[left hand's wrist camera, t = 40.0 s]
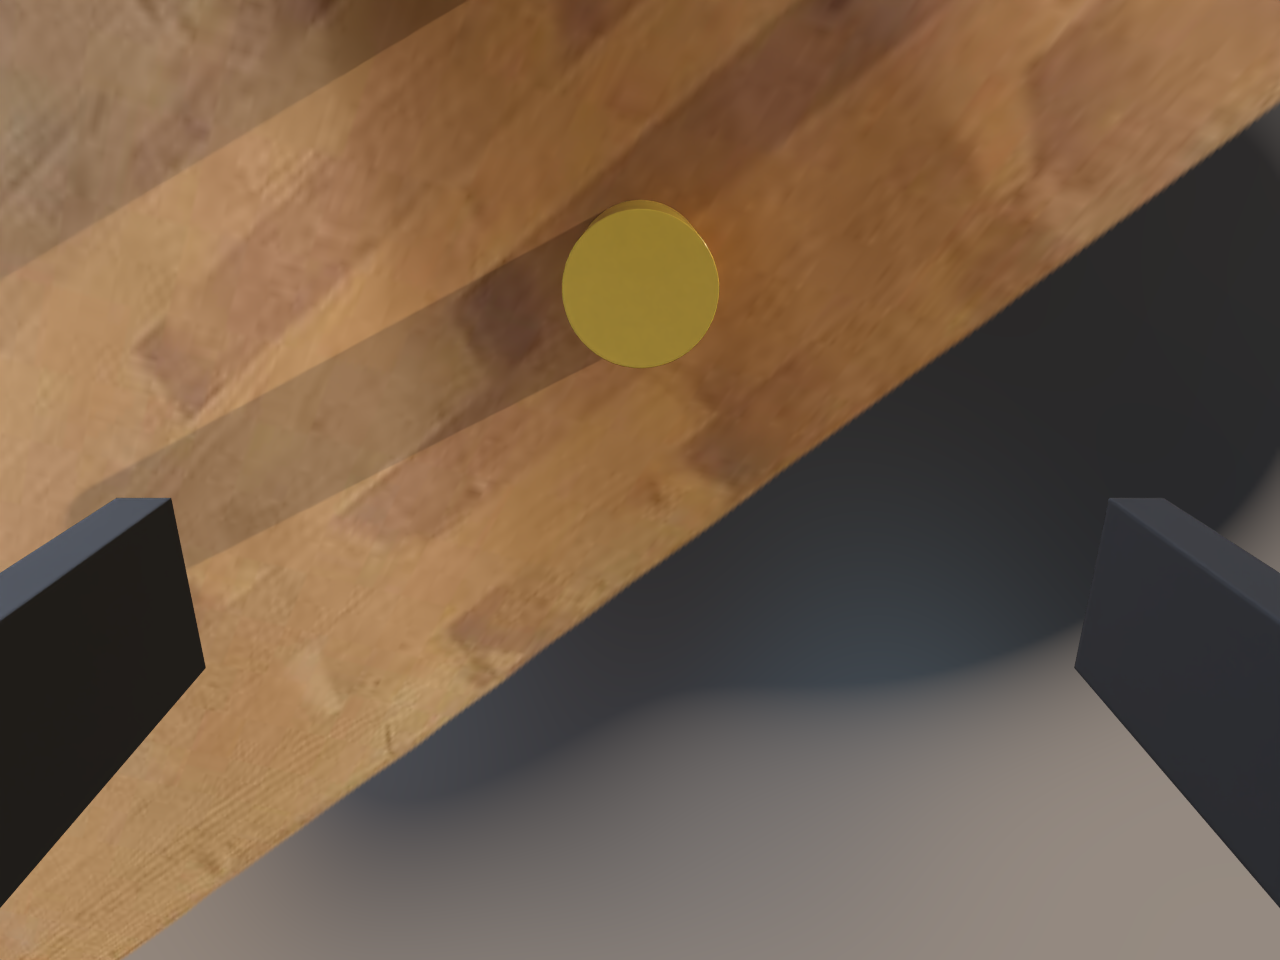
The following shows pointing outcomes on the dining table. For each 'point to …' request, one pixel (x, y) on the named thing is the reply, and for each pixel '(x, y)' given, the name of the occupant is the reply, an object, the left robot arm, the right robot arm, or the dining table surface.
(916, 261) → the dining table surface
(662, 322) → the tin
